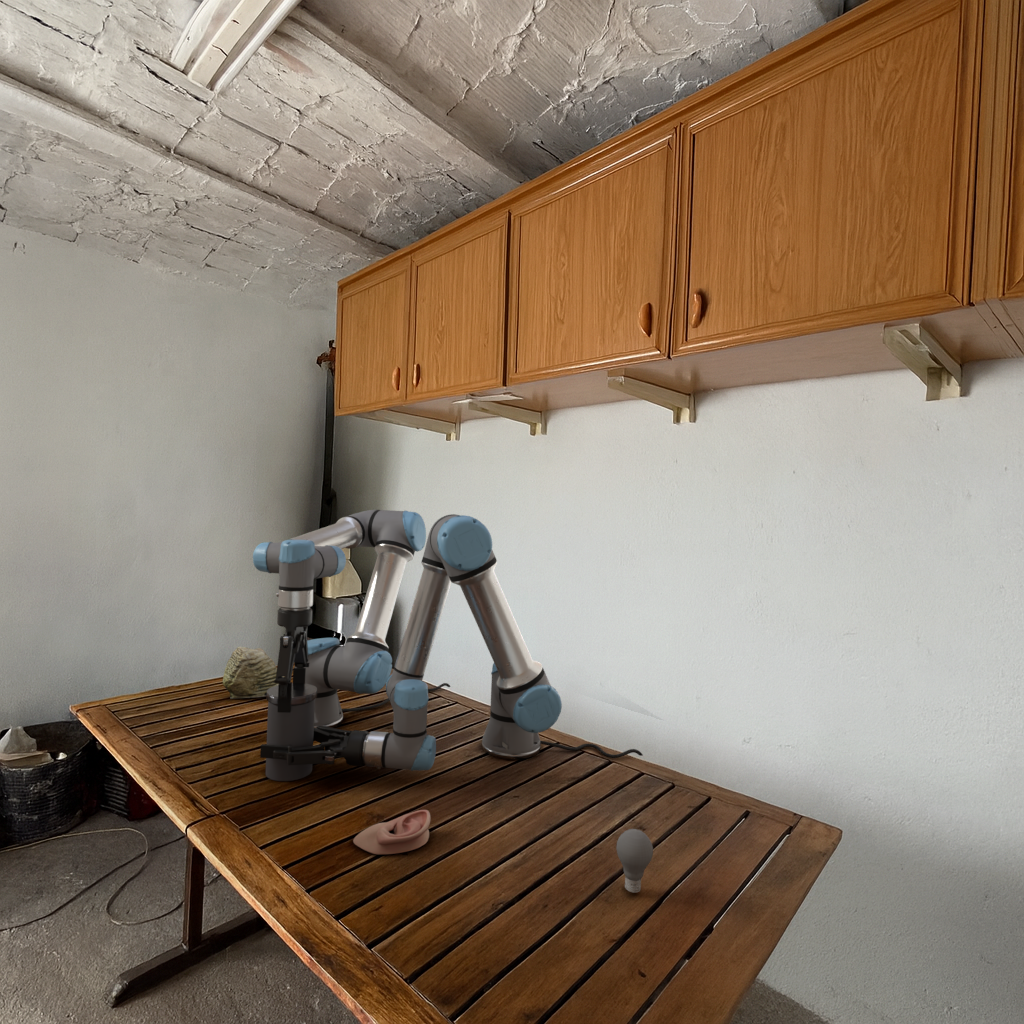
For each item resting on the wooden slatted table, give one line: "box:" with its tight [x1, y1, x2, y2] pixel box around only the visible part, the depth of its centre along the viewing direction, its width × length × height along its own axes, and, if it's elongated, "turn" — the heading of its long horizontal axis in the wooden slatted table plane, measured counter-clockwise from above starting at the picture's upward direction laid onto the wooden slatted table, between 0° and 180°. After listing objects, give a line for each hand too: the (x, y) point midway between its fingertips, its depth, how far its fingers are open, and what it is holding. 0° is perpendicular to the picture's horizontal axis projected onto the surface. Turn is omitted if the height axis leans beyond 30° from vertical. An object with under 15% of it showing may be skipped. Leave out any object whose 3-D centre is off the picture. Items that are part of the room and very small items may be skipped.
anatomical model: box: [352, 809, 431, 856], centre depth 118 cm, size 13×4×12 cm
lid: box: [266, 682, 317, 705], centre depth 145 cm, size 11×11×2 cm
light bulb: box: [615, 828, 654, 894], centre depth 106 cm, size 6×6×10 cm
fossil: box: [222, 646, 284, 699], centre depth 198 cm, size 9×18×15 cm, turn 132°
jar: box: [265, 699, 315, 782], centre depth 145 cm, size 10×10×18 cm
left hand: (291, 703), depth 145 cm, fingers closed on lid, 11 cm apart
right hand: (272, 741), depth 145 cm, fingers closed on jar, 10 cm apart
